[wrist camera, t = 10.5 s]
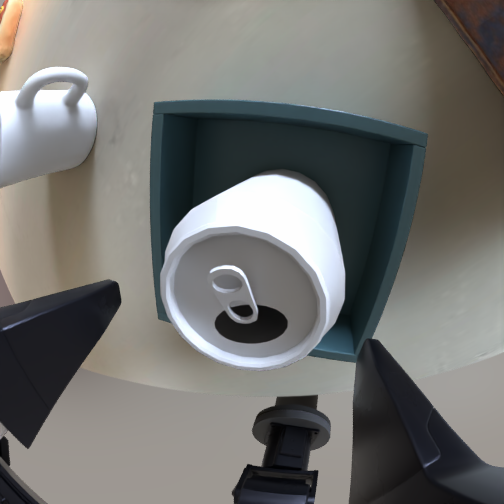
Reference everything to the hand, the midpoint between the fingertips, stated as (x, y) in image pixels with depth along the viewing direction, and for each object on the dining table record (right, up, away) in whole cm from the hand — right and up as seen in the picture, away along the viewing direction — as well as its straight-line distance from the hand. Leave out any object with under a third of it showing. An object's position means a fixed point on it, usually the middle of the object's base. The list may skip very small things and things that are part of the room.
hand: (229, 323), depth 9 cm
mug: (-17, +16, +12) cm, 26 cm away
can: (+3, +5, +11) cm, 13 cm away
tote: (+3, +5, +12) cm, 13 cm away
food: (-38, +39, +8) cm, 55 cm away
